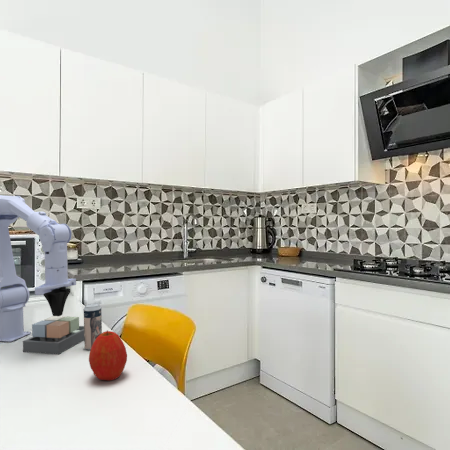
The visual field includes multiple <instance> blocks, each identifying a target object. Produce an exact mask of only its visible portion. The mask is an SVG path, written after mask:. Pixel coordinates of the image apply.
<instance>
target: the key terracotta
mask: <svg viewBox="0 0 450 450" xmlns="http://www.w3.org/2000/svg"><path fill="white" fill-rule="evenodd" d="M67 334H69V322H65V321H55V322H53V323H51V324H48V325H47V338H61V337H63V336H65V335H67Z"/></svg>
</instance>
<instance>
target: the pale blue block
mask: <svg viewBox="0 0 450 450" xmlns="http://www.w3.org/2000/svg"><path fill="white" fill-rule="evenodd" d="M44 320H45V319H43V320H39V321H38V322H37V321H36V322H35V323H32V324H31V327H32V328H31V331H32V332H31V337H47V325H48V324H51V323H53V322H54V321H44Z"/></svg>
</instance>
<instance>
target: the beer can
mask: <svg viewBox="0 0 450 450" xmlns="http://www.w3.org/2000/svg"><path fill="white" fill-rule="evenodd" d="M102 322H103V321H102V307H101V305H100V303H88V304H86V305H85V306H84V307H83V326H84V340H83V343H84V349H85V350H88V351H90V350H91V348H92V345H93V343H94V341H95V340H96V338H97V337H98V336H99V335H100V334H101V333H103V326H102V325H103V323H102Z"/></svg>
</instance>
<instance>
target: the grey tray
mask: <svg viewBox="0 0 450 450" xmlns="http://www.w3.org/2000/svg"><path fill="white" fill-rule="evenodd" d="M82 342H84V325H79V329H77V330H75V331H73V332H71V333H69V334H67V335H65V336H63V337H61V338H47V337H32V336H31V337H29V338H27V339H24V340H23V341H22V351H23V353H30V354H31V353H32V354H47V355H60V354H62V353H64V352H65V351H67V350H69V349H71V348H72V347H75V346H76V345H78V344H80V343H82Z"/></svg>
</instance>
